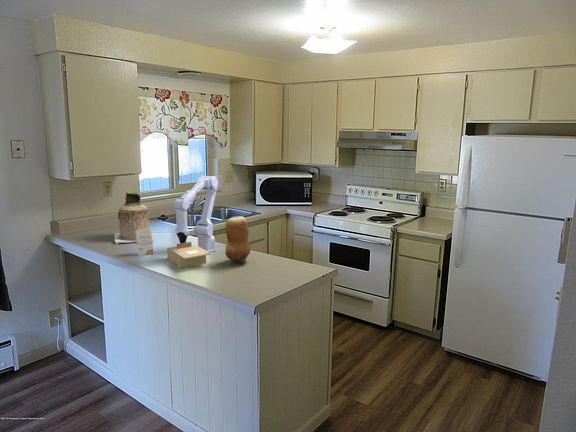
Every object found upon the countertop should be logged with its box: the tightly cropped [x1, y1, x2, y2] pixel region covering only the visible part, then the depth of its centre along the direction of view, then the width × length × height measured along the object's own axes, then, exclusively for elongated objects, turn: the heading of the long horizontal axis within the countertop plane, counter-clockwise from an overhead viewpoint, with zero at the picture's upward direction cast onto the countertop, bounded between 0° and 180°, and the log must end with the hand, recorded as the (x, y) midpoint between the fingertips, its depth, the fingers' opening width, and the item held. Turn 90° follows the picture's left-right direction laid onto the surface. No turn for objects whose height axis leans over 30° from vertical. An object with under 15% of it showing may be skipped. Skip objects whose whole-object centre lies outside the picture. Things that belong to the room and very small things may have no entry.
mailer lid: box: [170, 241, 212, 259], centre depth 225 cm, size 15×21×3 cm
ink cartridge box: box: [136, 228, 154, 256], centre depth 243 cm, size 9×5×15 cm, turn 105°
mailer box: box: [166, 246, 207, 268], centre depth 231 cm, size 14×20×6 cm
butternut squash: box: [225, 215, 251, 264], centre depth 227 cm, size 14×13×25 cm
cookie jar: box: [114, 190, 156, 245], centre depth 275 cm, size 25×25×32 cm
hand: (182, 245), depth 233 cm, fingers closed
